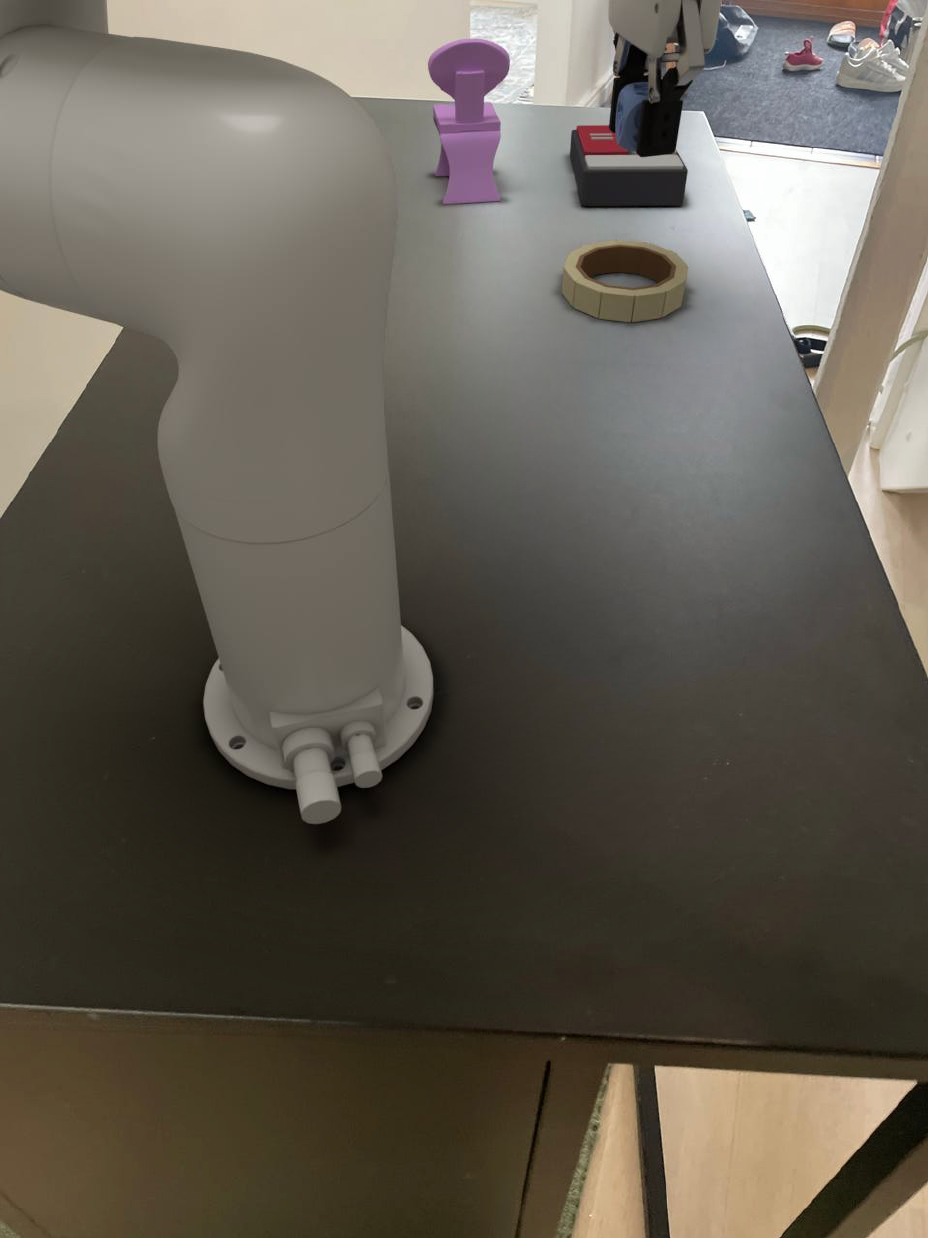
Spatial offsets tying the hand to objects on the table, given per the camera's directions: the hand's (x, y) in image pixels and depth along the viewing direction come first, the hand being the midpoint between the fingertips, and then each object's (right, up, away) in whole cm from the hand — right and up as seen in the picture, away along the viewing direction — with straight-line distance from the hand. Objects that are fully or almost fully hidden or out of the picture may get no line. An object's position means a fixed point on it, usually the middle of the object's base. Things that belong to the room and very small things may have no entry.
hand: (641, 139), depth 74 cm
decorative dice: (0, 0, 0) cm, 0 cm away
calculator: (+4, +10, +29) cm, 31 cm away
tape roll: (0, -9, +10) cm, 13 cm away
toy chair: (-14, +9, +28) cm, 32 cm away
